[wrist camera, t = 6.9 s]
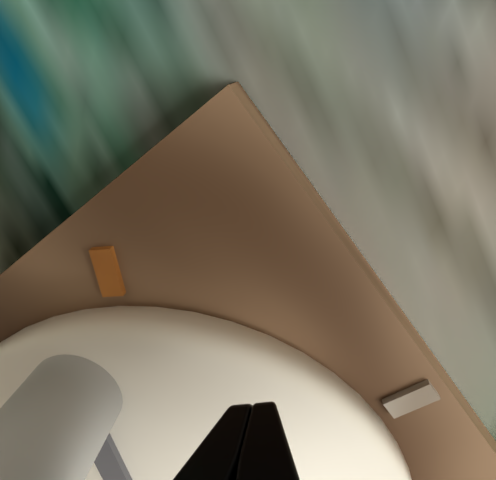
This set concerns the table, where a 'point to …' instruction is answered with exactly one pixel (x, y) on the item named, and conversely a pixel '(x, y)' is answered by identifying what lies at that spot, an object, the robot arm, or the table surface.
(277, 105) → the table surface
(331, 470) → the dial
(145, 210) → the dial base
